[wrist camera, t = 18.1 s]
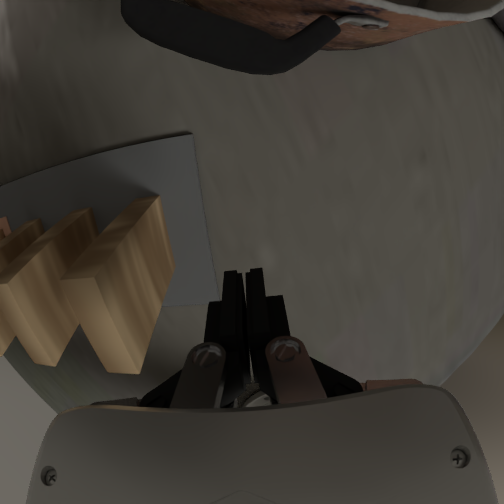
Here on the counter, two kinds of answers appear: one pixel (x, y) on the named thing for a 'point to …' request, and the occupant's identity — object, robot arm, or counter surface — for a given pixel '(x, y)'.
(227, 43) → the cooking pot
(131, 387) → the counter surface
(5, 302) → the domino
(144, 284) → the domino
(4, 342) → the domino
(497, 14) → the small grey backpack
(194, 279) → the mat
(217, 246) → the counter surface
